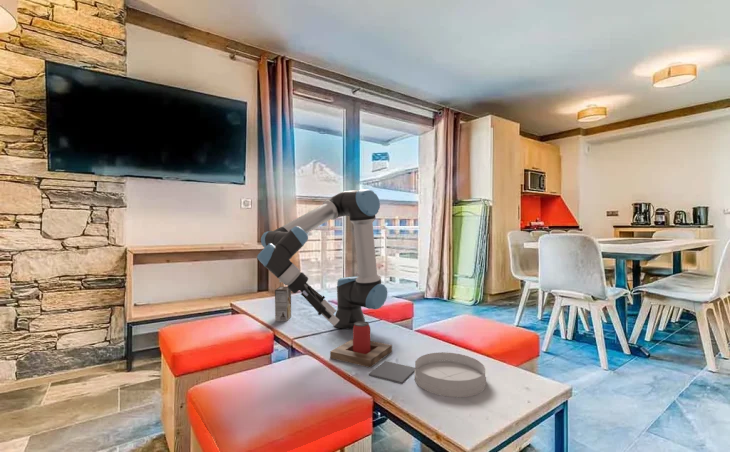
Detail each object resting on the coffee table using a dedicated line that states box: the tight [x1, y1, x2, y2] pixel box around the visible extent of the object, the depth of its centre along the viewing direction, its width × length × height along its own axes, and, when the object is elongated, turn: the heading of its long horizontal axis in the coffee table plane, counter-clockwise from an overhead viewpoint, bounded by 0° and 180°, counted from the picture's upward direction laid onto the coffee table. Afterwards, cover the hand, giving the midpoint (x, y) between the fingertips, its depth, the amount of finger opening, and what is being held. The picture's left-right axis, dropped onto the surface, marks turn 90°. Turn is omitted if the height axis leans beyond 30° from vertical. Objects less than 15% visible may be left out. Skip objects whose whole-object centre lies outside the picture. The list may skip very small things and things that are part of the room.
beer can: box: [352, 320, 371, 354], centre depth 134 cm, size 7×7×12 cm
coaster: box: [368, 360, 415, 384], centre depth 119 cm, size 12×12×1 cm
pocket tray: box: [329, 338, 393, 368], centre depth 134 cm, size 17×17×2 cm
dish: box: [414, 352, 487, 398], centre depth 113 cm, size 22×22×5 cm
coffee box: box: [274, 286, 292, 322], centre depth 183 cm, size 9×6×16 cm
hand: (335, 317), depth 132 cm, fingers open, 13 cm apart
